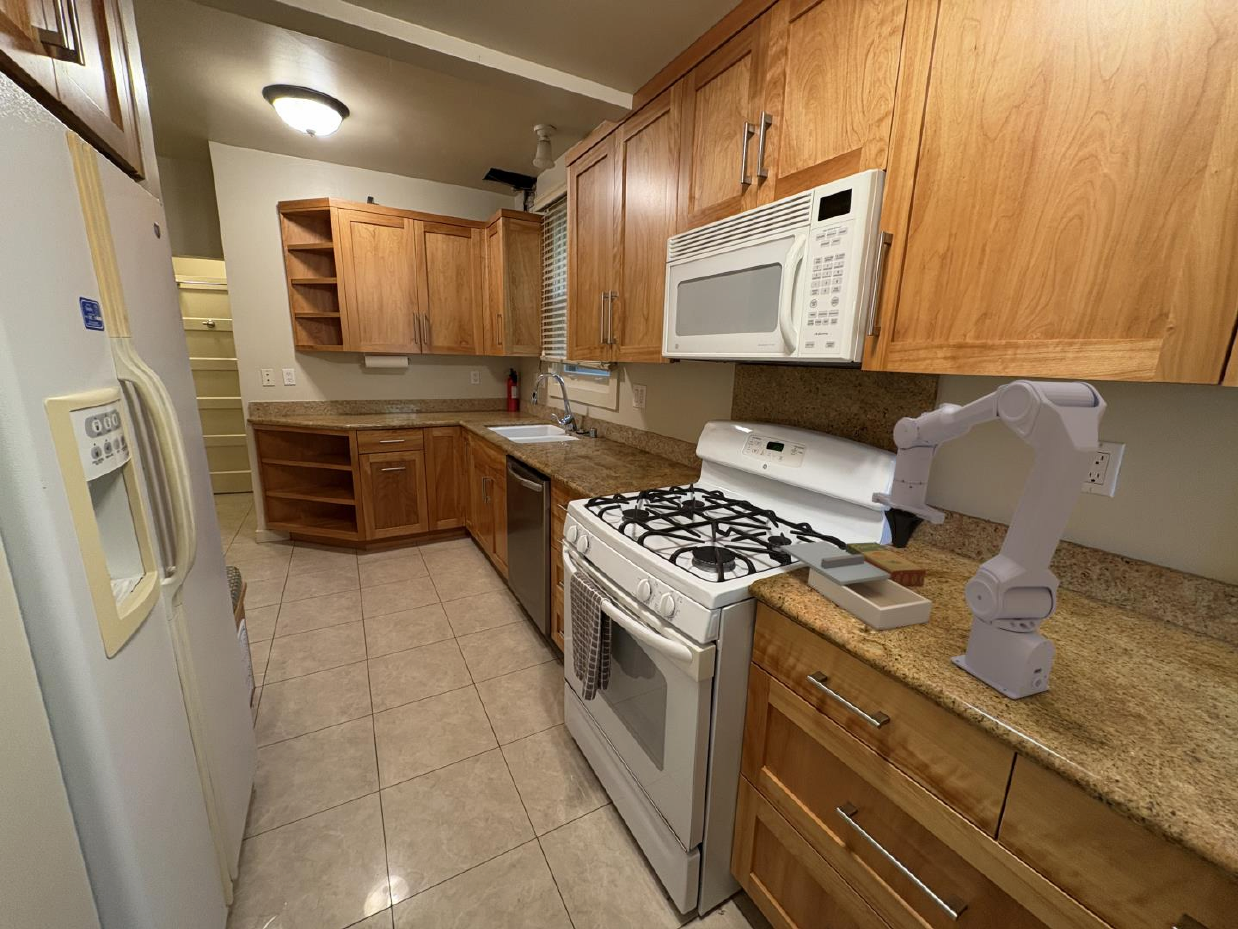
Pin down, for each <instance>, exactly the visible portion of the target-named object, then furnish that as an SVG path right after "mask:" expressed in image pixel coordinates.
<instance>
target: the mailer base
mask: <svg viewBox="0 0 1238 929" xmlns="http://www.w3.org/2000/svg"><path fill="white" fill-rule="evenodd" d="M808 572H809V574H808V580H807V586H808V585H809V586H810V587H809V586H808V587H809V588H811V589H812V588H813V590H814V589H815V590H817V591H818V592H819V594H820V595H821V594H822V595H821V596H823V595H824V596H823V597H824V598H826V597H827V598H826V599H828V600H829V601H830V602H832V601H833V602H832V603H834V604H835V605H837V606H838V607H840V608H841V607H842V609H843V610H844V609H845V611H846V612H847V613H849V614H850V613H851V614H850V615H852V614H853V615H852V616H854V617H855V618H856V619H859V621H861V620H862V621H861V622H863V623H864V622H865V624H866V625H867V626H868V627H870V626H871V627H870V628H872V627H873V628H874V630H875V631H876V630H877V632H881V630H882V631H887V630H892V629H896V627H898V628H902V627H901V626H903V627H907V626H908V627H909V626H912V625H913V626H914V625H917V624H923V623H928V621H930V615H931V610H932V605H933V601H932V600H930V599H928V598H926V597H925V596H922V595H920V594H918V593H916V592H914V591H913V590H911V589H909V588H907V587H903V586H901V585H899V584H897V583H895V582H894V581H892V580H890V579H888V578H885V579H878V580H872V581H865V582H858V583H851V584H845V585H839V584H838V583H836V582H834V581H833V580H831V579H829V578H828V577H826V576H824V575H823V574H821V573H819V572H818V571H816V570H814V569H813V568H811V567H809V571H808ZM815 590H814V591H815ZM817 591H816V592H817ZM818 592H817V593H818ZM873 628H872V629H873ZM891 628H892V629H891ZM886 629H887V630H886Z"/></svg>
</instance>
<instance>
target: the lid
mask: <svg viewBox="0 0 1238 929" xmlns="http://www.w3.org/2000/svg"><path fill="white" fill-rule="evenodd" d="M779 550H780V551H783V552H785V553H786V554H787V555H789V556H790V557H791V556H792V557H793V558H794V559H796V560H798V561H799V562H801V563H802V564H804V565H806V566H808V567H809V568H813V569H814V570H816V571H818V572H819V573H821V574H823V575H824V576H826V577H828V578H829V579H831V580H833V581H834V582H836V583H838V584H839V585H845V584H851V583H858V582H865V581H872V580H878V579H885V578H890V576H891V574H889V573H887V572H885V571H883V570H881V569H879V568H877V567H875V566H873V565H871V564H869V563H867V562H865V561H864V560H865V556H864V555H862V554H856V555H851V554H849V553H847V552H845V550H843V549H841V548H839V547H837V546H835V545H833V544H831V543H829V542H827V541H826V540H822V541H813V542H804V543H796V544H787V545H780V547H779Z"/></svg>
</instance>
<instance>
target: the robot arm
mask: <svg viewBox="0 0 1238 929" xmlns="http://www.w3.org/2000/svg"><path fill="white" fill-rule="evenodd" d="M1107 405H1108V404H1107V403H1106V401H1105V400H1104V398H1103V397H1102V396H1101V395H1100V393H1099V391H1098V390H1097V389H1096V387H1095V386H1093V385H1092V384H1090V383H1088V382H1084V381H1073V382H1072V381H1071V382H1067V381H1065V382H1062V381H1061V382H1060V381H1037V380H1036V381H1035V380H1034V381H1033V380H1029V379H1028V380H1027V379H1019V380H1018V379H1017V380H1015V381H1011V382H1010V383H1007V384H1002V385H1000V386H998V387H997V389H996V390H995V391H993V392H992V393H989V394H987V395H985V396H982V397H980V398H978V399H977V400H974V401H972V402H970V403H967V404H965V405H963V406H961V405H959V404H954V403H949V402H948V403H947V402H945V403H942V404H939V406H938V407H939V408H938V409H935V410H933V411H931V412H926V411H925V412H922V413H921V414H920V416H918V417H917V418H911V417H906V416H905V417H902V418H901V419H899V420H898V421H897V422H896V424H895V425H894V428H893V432H892V433H893V434H892V435H893V441H894V444H895V445H896V447H897V454H896V460H895V468H894V470H893V471H894V472H893V477H892V478H893V479H892V485H891V491H890V494H886V493H883V492H881V491H880V492H872V497H871V502H872V503H874V504H880V505H883V506H886V507H889V509H888V510H884V513H883V514H884V516H885V518H886V521H887V523H888V527H889V530H890V535H891V543H892V547H894V548H896V549H905V548H906V547H907V545H908V543H909V541H910V539H911V538H912V536H913V534H914V532H915V531H916V530H917V528H918V527H919V526H920V525H921V524H922V523H923V522H924V521H929V522H930V523H931V524H933V525H941V524H942V525H943V524H944V522H945V517H946V513H945V512H941V511H939V510H938V509H937V510H936V508H935V509H934V508H933V507H931V506H929V505H927V504H925V500H926V496H927V495H926V494H927V490H928V489H927V488H928V482H929V477H930V471H931V467H932V460H933V459H935V457H936V456H937V451H938V449H939V448H940V447H941V446H942V444H943V443H944V442H948V441H951V440H955V439H957V438H960V437H961V438H962V437H964V436H966V435H967V434H968V433H969V432H970V430H971V428H972V427H973V426H976V425H979V424H983V423H987V422H990V421H994V420H998V419H1001V421H1002V422H1003V423H1004V424H1005V425H1006V426H1007V427H1008V428H1009V429H1010V430H1012V432H1014V433H1015V434H1016V435H1017V436H1018V437H1019V438H1020V439H1021V440H1022V441H1023V442H1024V443H1025V444H1026V445H1029V446H1030V447H1032V449H1033V451H1034V452H1035V455H1036V457H1035V460H1034V463H1033V465H1032V467H1031V471H1030V473H1029V475H1028V478H1027V480H1026V484H1025V486H1024V489H1023V491H1022V494H1021V495H1020V499H1019V501H1018V504H1017V506H1016V508H1015V511H1014V514H1013V516H1012V520H1011V522H1010V524H1009V526H1008V529H1007V532H1006V535H1005V538H1004V539H1003V543H1002V545H1001V548H1000V550H999V553H998V554H996V555H995V556H994V557H992V558H990V559H988V560H986V561H984V562H983V563H981V564H980V565H979V566H978V568H977V571H976V573H975V574H974V576H972V577H971V578H970V579H968V581H967V582H966V584H965V587H964V588H965V589H964V599H965V603H966V605H967V607H968V608H969V611H970V613H971V614H972V615H973V617H972V624H971V626H970V631H969V636H968V641H967V647H966V651H965V654H962V655H961V654H960V655H957V656H952V657H950V661H951V662H952V664H954V665H957V666H958V667H959V668H961V669H963V670H965V671H966V672H968V673H969V674H971V675H972V676H974V677H975V678H977V679H978V680H980V681H982V682H984V683H985V684H987V685H989V686H990V687H992V688H993V689H995V690H996V691H998V692H1000V693H1001V694H1003V695H1005V696H1006V697H1009V699H1012V700H1016V699H1020V698H1024V697H1027V696H1030V695H1035V694H1038V693H1042V692H1045V691H1049V690H1050V687H1051V686H1049V685H1048V683H1049V679H1050V675H1051V671H1052V667H1053V664H1054V658H1055V655H1056V646H1055V644H1054V643H1053V641H1051V640H1050V639H1048V638H1046V637H1045V636H1044V635H1042V634H1041V633H1040V632H1039V630H1037V628H1039V627H1041V625H1042V621H1043V620H1047V619H1048V618H1051V617H1052V616H1053V615H1054V614H1055V612H1056V610H1057V607H1058V602H1057V600H1058V599H1057V590H1058V588H1059V586H1060V580H1059V578H1058V577H1056V576H1055V574H1054V573H1053V572H1052V571H1051V570H1049V565H1050V564H1051V562H1052V559H1053V556H1054V554H1055V552H1056V550H1057V547H1058V545H1059V543H1060V541H1061V539H1062V536H1063V533H1064V531H1065V529H1066V527H1067V524H1068V522H1069V520H1070V517H1071V514H1072V513H1073V510H1074V508H1075V506H1076V503H1077V501H1078V499H1079V497H1080V494H1081V492H1082V490H1083V488H1084V486H1085V483H1086V480H1087V479H1088V476H1089V473H1090V472H1091V469H1092V467H1093V465H1094V463H1095V460H1096V458H1097V456H1098V455H1097V454H1098V452H1099V451H1098V450H1099V424H1100V422H1101V421H1102V418H1103V416H1104V414H1105V411H1106V409H1107Z"/></svg>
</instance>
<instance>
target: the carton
mask: <svg viewBox="0 0 1238 929" xmlns="http://www.w3.org/2000/svg"><path fill="white" fill-rule="evenodd" d="M844 551H845V552H847V553H849V554H851V555H856V554H862V555H864V556H865V560H864V561H865V562H867V563H869V564H871V565H873V566H875V567H877V568H879V569H881V570H883V571H885V572H887V573H889V574H891V576H890V578H888V579H890V580H892V581H894V582H895V583H897V584H899V585H901V586H903V587H904V586H911V587H923V586H924V583H925V578H926V571H927V570H926V568H924V567H922V566H921V565H919V564H916V563H915V562H913V561H911V560H910V559H907V558H905V557H903V556H902V555H900V554H898V553H897V552H895V551H893V550H891V549H889V548H887V547H885V546H883V545H882V544H880V543H878V542H877V541H874V542H855V543H854V542H852V543H851V542H850V543H846V544H845V550H844Z"/></svg>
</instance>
